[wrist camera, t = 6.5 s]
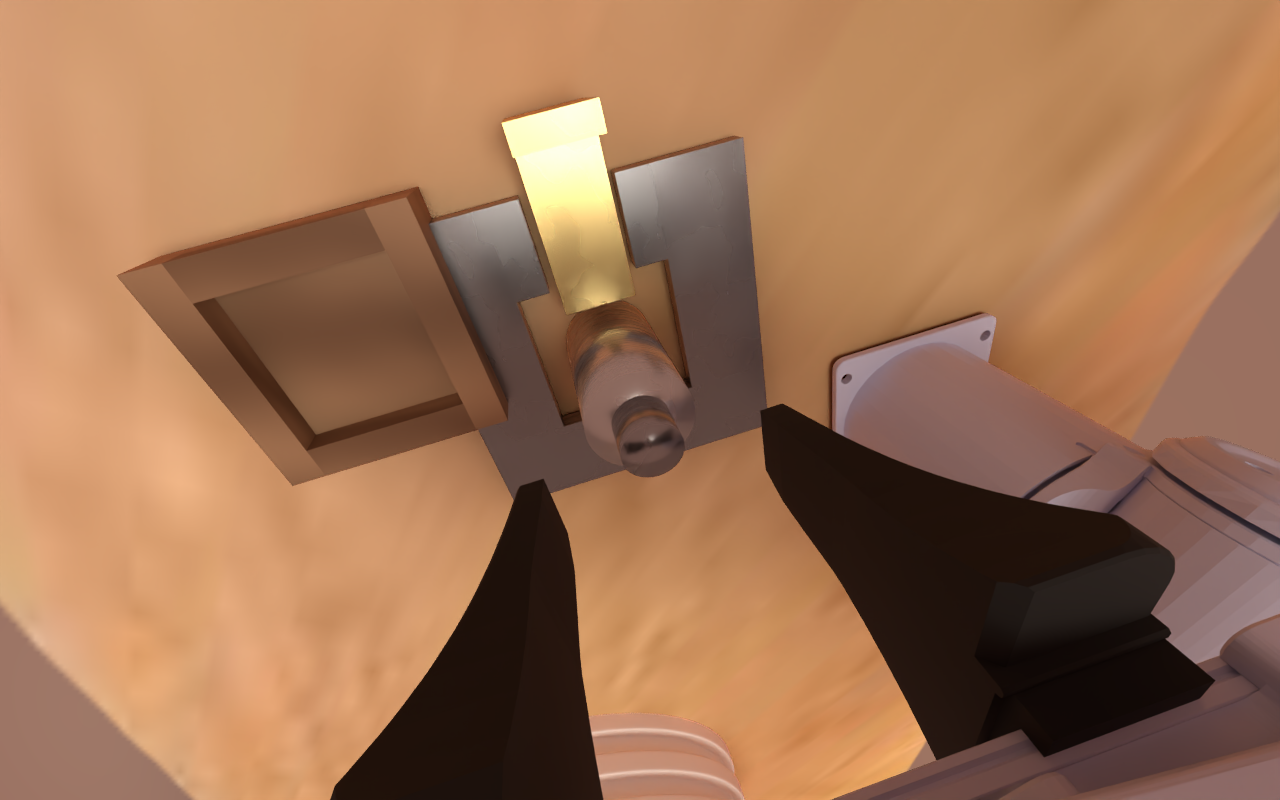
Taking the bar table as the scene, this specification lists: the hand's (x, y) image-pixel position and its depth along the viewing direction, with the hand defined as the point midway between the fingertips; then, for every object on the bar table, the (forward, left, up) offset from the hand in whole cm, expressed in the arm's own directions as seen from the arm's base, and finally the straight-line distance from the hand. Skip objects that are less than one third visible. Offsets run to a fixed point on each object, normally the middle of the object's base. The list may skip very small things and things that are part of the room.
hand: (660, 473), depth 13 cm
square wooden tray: (+3, +9, -8) cm, 12 cm away
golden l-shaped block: (+5, 0, -8) cm, 10 cm away
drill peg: (0, 0, -8) cm, 8 cm away
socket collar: (0, 0, -8) cm, 8 cm away
